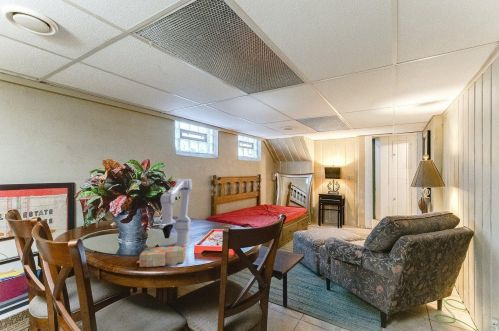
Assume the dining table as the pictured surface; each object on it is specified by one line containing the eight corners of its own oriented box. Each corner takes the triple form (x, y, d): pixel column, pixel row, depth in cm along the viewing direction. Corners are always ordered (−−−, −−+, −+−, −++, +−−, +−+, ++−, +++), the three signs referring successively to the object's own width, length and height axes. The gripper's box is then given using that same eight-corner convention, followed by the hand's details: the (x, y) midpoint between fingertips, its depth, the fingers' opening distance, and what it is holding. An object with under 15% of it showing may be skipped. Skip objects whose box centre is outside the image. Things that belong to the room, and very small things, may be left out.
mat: (144, 257, 131) (144, 256, 131) (182, 259, 129) (182, 258, 129) (136, 262, 123) (136, 262, 124) (175, 264, 121) (175, 264, 121)
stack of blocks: (185, 245, 132) (183, 252, 120) (185, 256, 132) (183, 264, 120) (146, 247, 129) (139, 254, 117) (145, 258, 129) (139, 267, 117)
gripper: (166, 212, 143) (166, 234, 142) (154, 216, 128) (153, 241, 128) (177, 212, 142) (177, 235, 141) (166, 216, 127) (166, 241, 127)
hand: (166, 238), depth 135 cm, fingers closed
